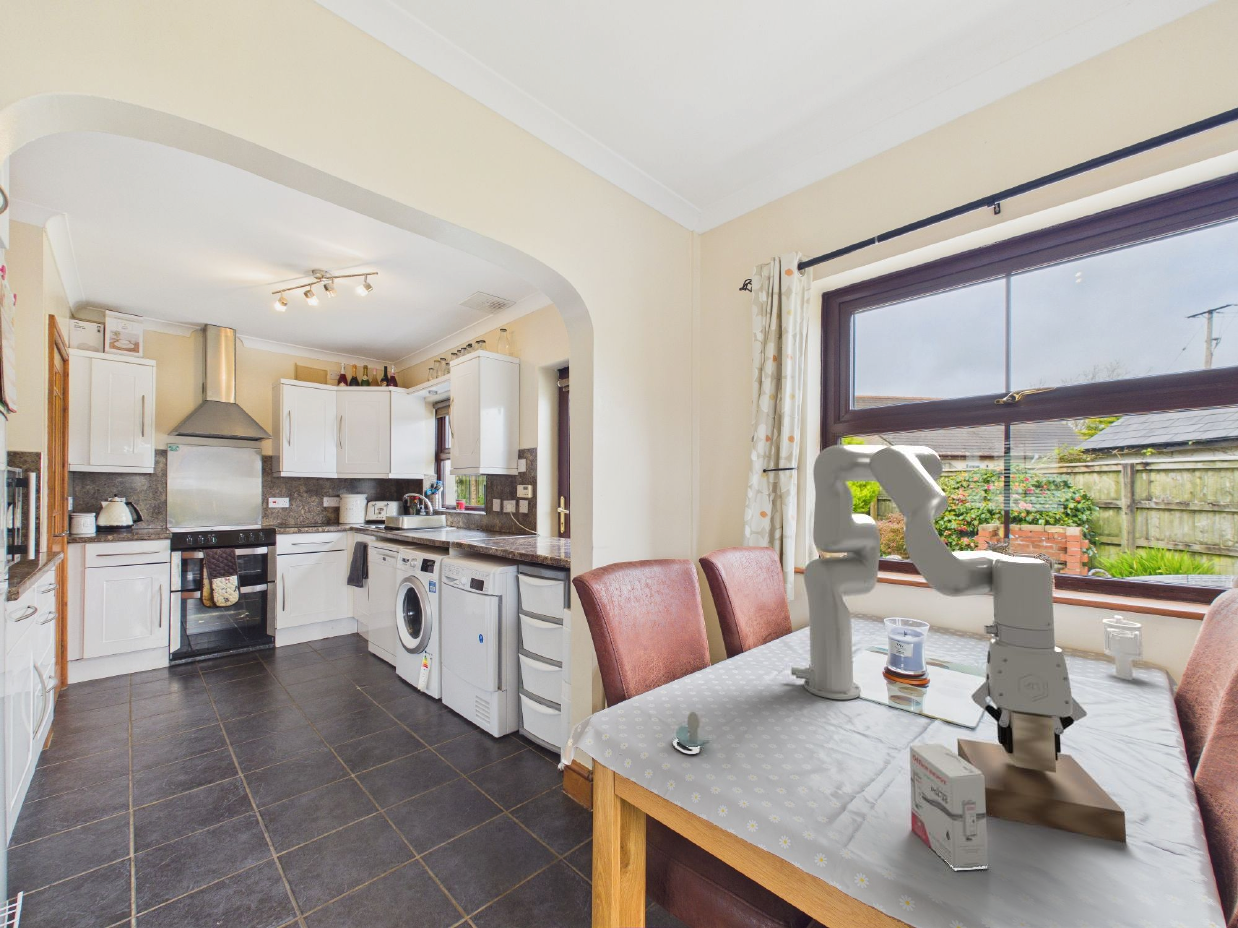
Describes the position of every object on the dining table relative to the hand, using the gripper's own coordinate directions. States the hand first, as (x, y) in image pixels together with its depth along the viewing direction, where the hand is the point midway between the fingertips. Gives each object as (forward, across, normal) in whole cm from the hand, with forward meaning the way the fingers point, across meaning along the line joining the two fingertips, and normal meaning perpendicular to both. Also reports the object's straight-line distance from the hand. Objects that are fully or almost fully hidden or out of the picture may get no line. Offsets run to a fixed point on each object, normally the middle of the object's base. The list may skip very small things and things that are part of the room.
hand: (1028, 751), depth 80 cm
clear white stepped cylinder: (+7, +42, +70) cm, 82 cm away
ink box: (+7, -15, -18) cm, 25 cm away
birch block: (+2, 0, 0) cm, 2 cm away
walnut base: (+7, 0, 0) cm, 7 cm away
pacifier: (+7, -54, -4) cm, 54 cm away
